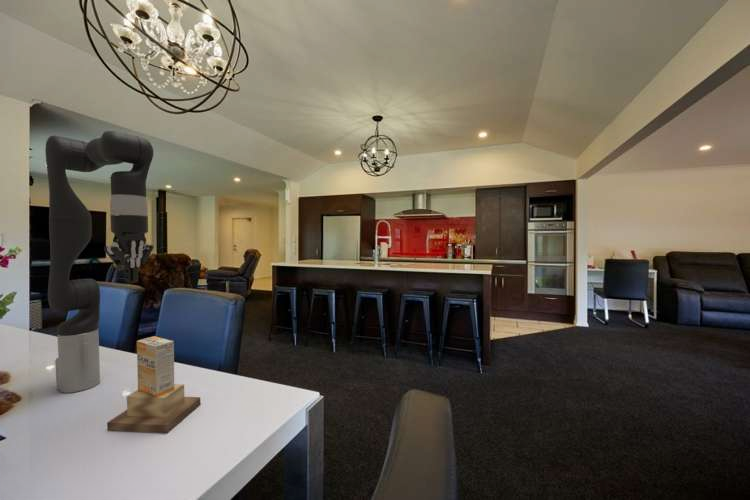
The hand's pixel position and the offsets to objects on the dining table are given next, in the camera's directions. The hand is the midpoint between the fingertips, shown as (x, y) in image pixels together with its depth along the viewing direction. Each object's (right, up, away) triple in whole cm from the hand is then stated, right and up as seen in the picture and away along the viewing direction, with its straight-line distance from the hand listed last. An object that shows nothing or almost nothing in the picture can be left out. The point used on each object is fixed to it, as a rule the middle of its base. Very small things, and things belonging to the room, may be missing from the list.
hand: (131, 282), depth 81 cm
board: (+6, -35, +1) cm, 36 cm away
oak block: (+6, -33, +1) cm, 34 cm away
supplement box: (+6, -28, +1) cm, 29 cm away
